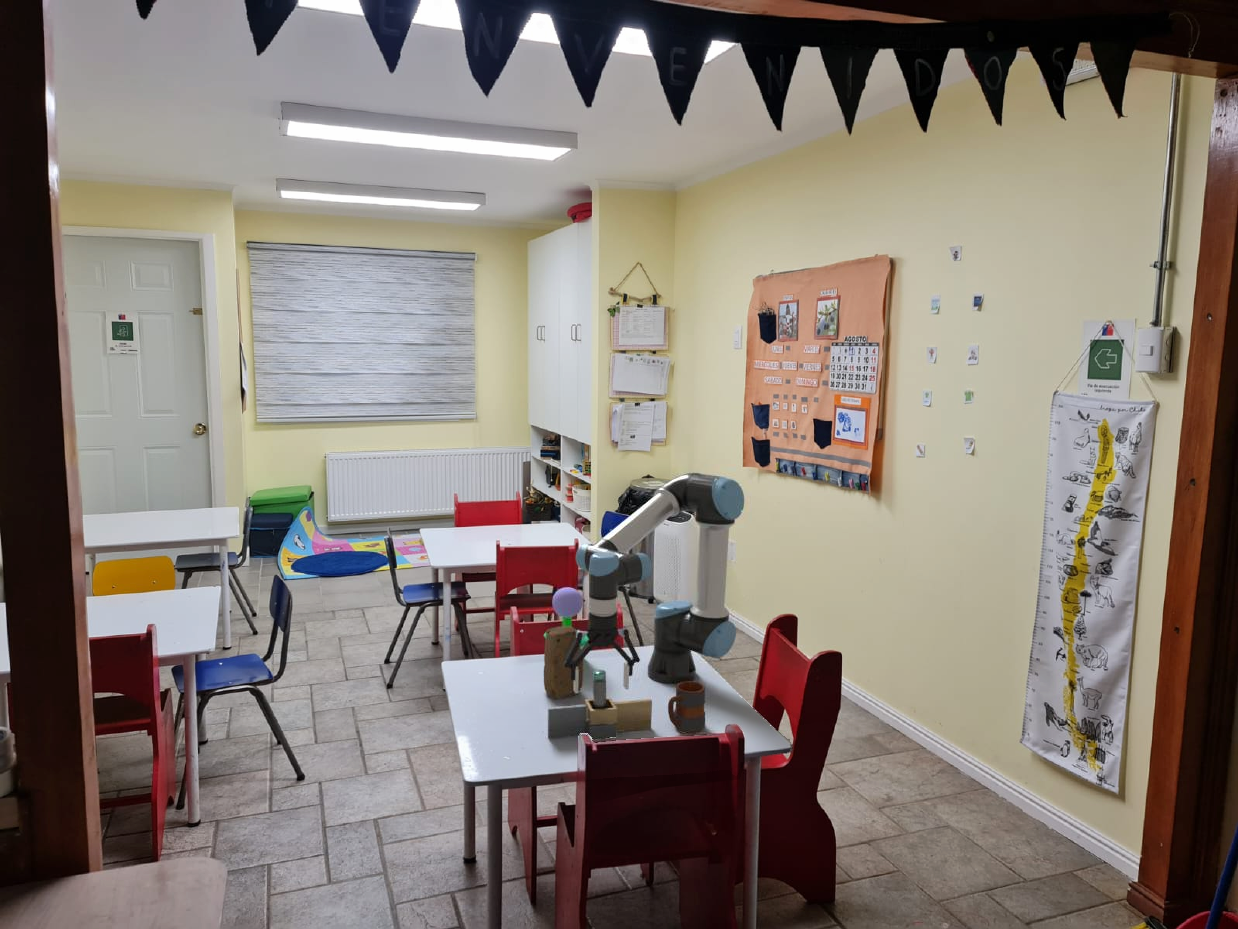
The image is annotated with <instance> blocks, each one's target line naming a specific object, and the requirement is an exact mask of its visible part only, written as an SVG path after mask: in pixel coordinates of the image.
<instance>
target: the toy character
mask: <svg viewBox="0 0 1238 929" xmlns="http://www.w3.org/2000/svg"><path fill="white" fill-rule="evenodd" d="M552 608H553V610H554V612H555V613H556V614H557V615H558V616H560V617H562V626H561V627H563V626H570V627H572V620H573V619H572V618H573V617H575V616H576V615H578V614H579V613H580V612H581V610H582V608H583V597H582V594H581V593H580V592H579V591H578V590H577V589H575V588H573V587H567V586H566V587H562V588H560V589H558V590H557V591H556V592H555V593H554V595H553V597H552ZM575 630H576V631H577V630H578V629H575ZM543 637H544V638H545V640H546V632H545V633H544V634H543ZM588 640H589V639H588V637H587V636H586V637H584V639H583V640H581V644H580V648H581V649H582V648H583V647H584V645H585V644H586V642H587V641H588Z"/></svg>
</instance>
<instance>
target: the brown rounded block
mask: <svg viewBox="0 0 1238 929" xmlns="http://www.w3.org/2000/svg"><path fill="white" fill-rule="evenodd" d="M576 630H577V629H575V627H570V626H563V627H562V626H556V627H552V628H551V627H550V628H548V629H546V631H545V633H546V639H545V643H544V656H543V659H544V660H543V661H544V666H543V686H544V690H545V693H546V694H547V695H548V696H549V697H551V698H553V699H566V698H571V696H575V695H577V694H578V693H579V692H580V691H581V689H582V686H583V680H584V659H583V660H582V661H581V662H580V664H579V665H578V666H577V667H578V669H579V678H578V693H575V692H574V689H573V685H574V680H571V678H570V668H569V667H565V666H564V664H563V661H564V659H565V657H566V655H567V653H568V651H569V649H570V647H571V645H572V643H573V641H574V639H575V635H576ZM580 650H581V648H580V646H579V648H578V649H577V651H576V653H575V655H574V657H575V656H576V655H577V654H578V653H579V651H580ZM574 657H573V659H574ZM573 659H572V660H573Z"/></svg>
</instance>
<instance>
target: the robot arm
mask: <svg viewBox="0 0 1238 929" xmlns="http://www.w3.org/2000/svg"><path fill="white" fill-rule="evenodd" d="M744 508H745V494H744V490H743V488H742V486H741V485H740V483H739V482H737V481H736V480H735V479H733V478H728V477H725V476H717V475H712V474H703V473H699V472H689V473H685V474H681V475H679V476H677V477H675V478H673V479H671V480H669V481H668V482H665V483H664V484H663V485H662V486H660V487H659V488H657V489H656V490H655V492H653V496H652V498H650V499H649V500H648V501H646V503H645V504H643V505H642V506H640V507H639V508H638V509H637V510H636V511H634V512H633V513H632V514H631V515H629V516H628V517H627V518H625V519H624V520H623V521H622V522H621V523H620V524H617V526H616V527H614V528H613V529H612V530H611V531H609V532H608V533H607V534H606V535H605V536H603V537H602V538H601V539H600V540H598V541H597V542H596V543H595V544H593V543H583V544H582V545H580V546H579V548H578V549H577V551H576V554H575V562H576V565H577V567H578V568H579V569H581V570H583V571H585V572H588V611H589V612H588V616H587V618H588V619H587V621H588V622H587V627H588V628H587V630H586V631H585V630H584V631H583V630H580V629H576V630H577V631H576V635H575V639H574V641H573V643H572V645H571V647H570V649H569V651H568V653H567V655H566V657H565V659H564V661H563V664H564V666H565V667H569V668H570V678H571V680H574V685H573V689H574V692H575V693H577V694H579V692H578V678H579V669H578V667H577V666H578V665H579V664H580V662H581V661H582V660H583V661H584V659H586V656H587V655H588V654H589V653H590V652H591V651H593V650H594V648H597V649H600V648H609V647H610V646H612V647H613V648H614V649H615V650H616V651H617V652H618V653H619V655H620V656H621V657H622V658H623V659H624V660H625V661H623V687H624V689H625V690H629V688H630V685H629V684H630V683H629V682H630V677H632V676H633V674H634V673H633V672H634V671H633V670H634V669H633V668H634V665H635V664H636V663H640V662H641V659H640V657H639V654H638V653H637V650H636V649H635V647H634V644H633V643H632V640H631V638H630V632H629V630H628V628H627V627H626V626H623V627H622V628H618V613H617V612H618V598H619V597H618V595H619V588H620V587H623V586H627V585H631V584H635V583H640V582H642V581H644V580H646V579H648V578H650V576H651V573H652V572H653V571H652V569H653V565H652V562H651V559H650V558H649V556H648V555H647V554H646V553H643V552H634V553H630V554H628V552H629V551H631V550H632V549H633V548H634V547H635V546H636V545H638V544H639V543H641V541H642V540H643V539H644V538H645V539H646V537H648V535H649V534H651V533H652V532H653V531H654V530H655V529H656V528H658V527H659V526H660V525H661V524H663V523H664V522H665V521H666V520H667V519H669V518H673V517H676V516H677V515H679V514H680V513H682V512H693V513H695V517H694V518H695V519H694V520H695V522H696V524H697V525H698V526H699V540H698V553H697V554H698V558H697V574H696V575H697V576H696V577H697V578H696V591H695V592H696V593H695V605H693V604H692V602H690V601H685V600H673V601H665V602H661V603H660V604H658V605H657V606H656V607H655V613H654V628H653V630H654V632H653V634H654V635H653V643H654V644H653V651H652V653H651V657H650V660H649V661H648V665H647V675H648V677H649V678H650V679H652V680H653V681H656V682H660V683H663V684H679V683H681V682H686V681H693V680H694V679H696V676H697V668H696V667H697V666H696V665H695V664H696V663H695V661H694V658H693V654H692V652H694V653H697V654H700V655H703V656H705V657H709V658H714V659H720V658H722V657H723V658H724V656H725V655H727V654H728V653H729V652H730V650H731V649H732V648H733V645H734V644H735V641H736V636H737V628H736V626H735V624H734V623H733V622H732V621H730V620H729V618H730V612H729V610H728V609H727V608H726V607H725V604H726V603H725V600H726V586H727V585H726V583H727V567H728V556H729V555H728V553H729V552H728V551H729V534H730V528H732V526H734V524H735V523H736V522H735V521H736V520H737V519H738V518H740V516H741V514H742V511H743V510H744ZM619 635H620V637H621V638H623V640H624V642H625V644H626V645H627V648H628V651H629V652H630V654H631V657H630V656H629V655H628V653H627V652H626V651H625V650H624V649H623V647H621V645H619V643H618V642H617V641H616V639H617V637H618V636H619ZM586 636H587V637H588V639H589V640H588V641H587V642H586V644H585V645H584V647H583V648H582V649H581V650H580V651H579V653H578V654H577V655H576V656H575V657H574V655H575V653H576V651H577V649H578V648H579V646H580V644H581V640H583V639H584V637H586ZM573 657H574V659H573ZM572 659H573V660H572Z"/></svg>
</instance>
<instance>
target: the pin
mask: <svg viewBox="0 0 1238 929" xmlns="http://www.w3.org/2000/svg"><path fill="white" fill-rule="evenodd" d="M606 673H607V672H606V671H605V670H603V669H596V670H593V672H592V691H593V692H592V694H593V696H592V699H593V705H594V709H605V708H606V698H607V676H606V675H607V674H606Z"/></svg>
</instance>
